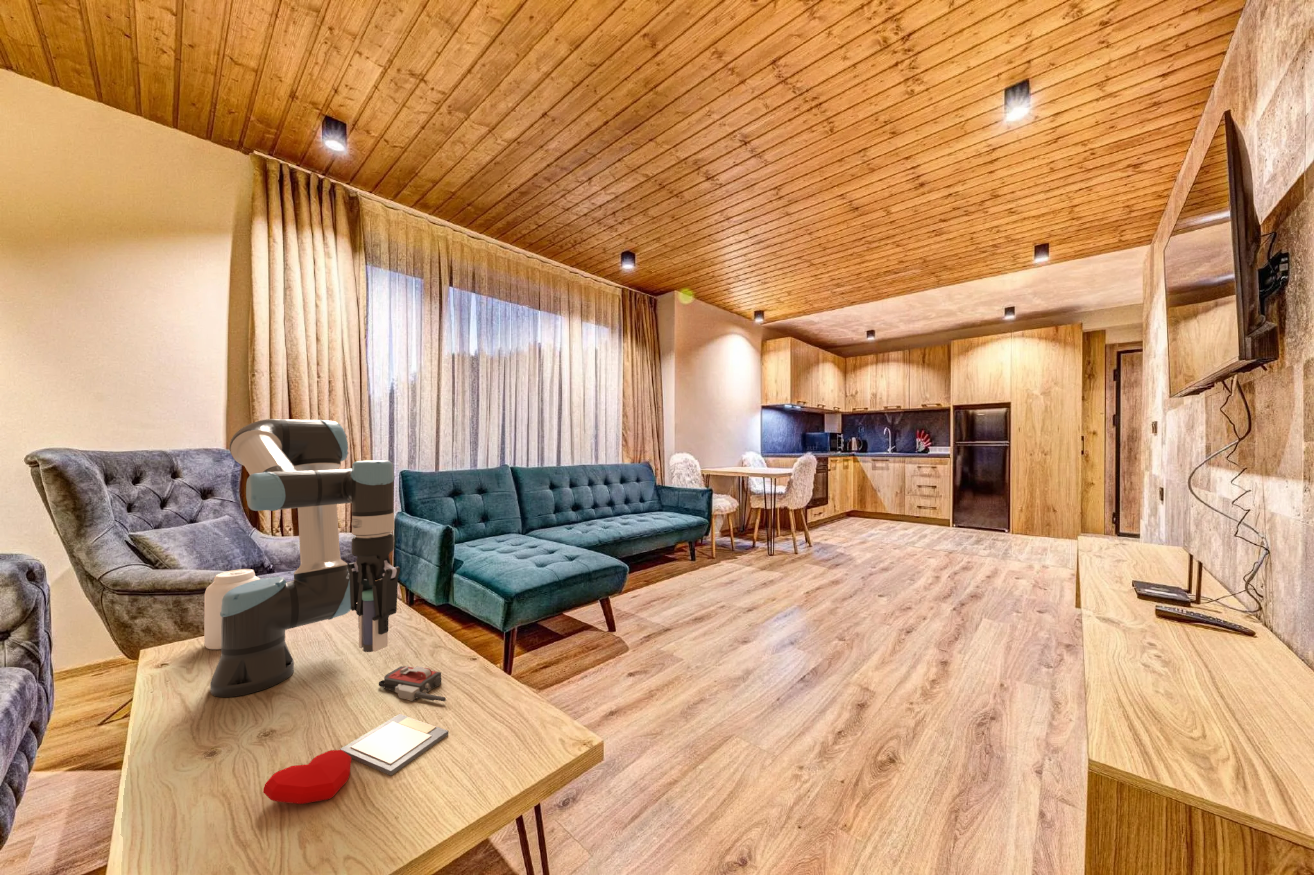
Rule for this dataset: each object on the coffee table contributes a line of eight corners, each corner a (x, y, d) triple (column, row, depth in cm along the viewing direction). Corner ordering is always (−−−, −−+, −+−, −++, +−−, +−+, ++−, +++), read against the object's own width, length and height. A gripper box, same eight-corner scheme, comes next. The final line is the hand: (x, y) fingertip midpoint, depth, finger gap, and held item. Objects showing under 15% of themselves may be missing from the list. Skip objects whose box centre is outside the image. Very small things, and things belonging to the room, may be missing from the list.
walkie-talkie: (369, 694, 105) (441, 709, 99) (369, 675, 105) (441, 688, 99) (401, 675, 113) (469, 688, 108) (401, 657, 113) (469, 669, 108)
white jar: (262, 628, 142) (262, 563, 142) (263, 641, 132) (264, 572, 133) (205, 640, 133) (205, 571, 133) (203, 655, 124) (203, 581, 124)
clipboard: (339, 753, 85) (339, 748, 85) (399, 717, 96) (399, 712, 96) (391, 775, 79) (390, 770, 79) (448, 734, 90) (448, 729, 90)
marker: (358, 650, 94) (357, 592, 95) (376, 642, 98) (376, 586, 98) (370, 653, 93) (370, 594, 93) (388, 646, 96) (388, 588, 97)
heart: (367, 788, 78) (335, 763, 83) (373, 762, 79) (341, 739, 83) (287, 829, 68) (255, 798, 72) (294, 798, 68) (262, 769, 73)
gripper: (329, 534, 96) (329, 647, 95) (382, 541, 89) (382, 662, 89) (364, 528, 103) (365, 633, 102) (416, 533, 96) (417, 646, 95)
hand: (373, 646), depth 95 cm, fingers closed on marker, 4 cm apart
